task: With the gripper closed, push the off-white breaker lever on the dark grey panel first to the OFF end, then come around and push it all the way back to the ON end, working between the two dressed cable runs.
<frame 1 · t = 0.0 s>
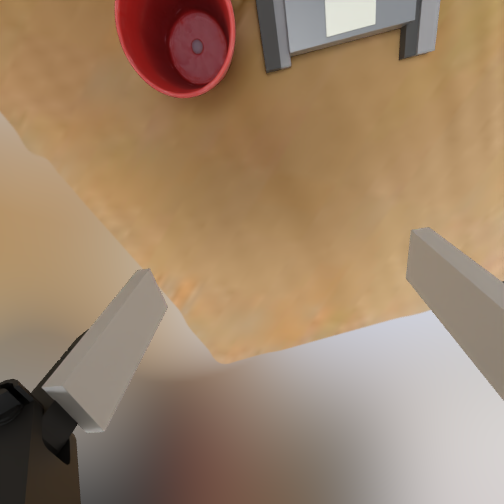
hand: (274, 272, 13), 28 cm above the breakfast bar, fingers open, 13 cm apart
flower pot: (200, 50, 31), on the breakfast bar
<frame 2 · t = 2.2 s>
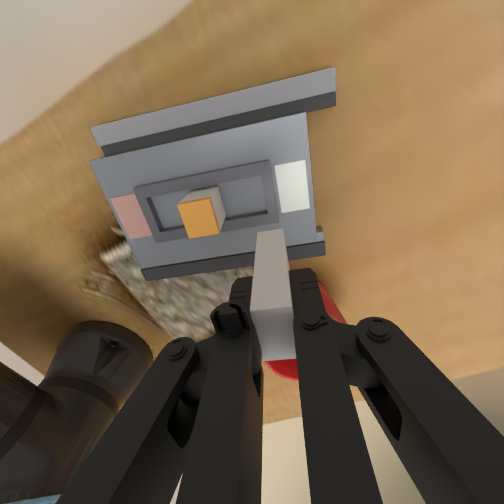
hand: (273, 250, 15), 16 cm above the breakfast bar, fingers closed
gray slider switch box: (231, 255, 34), on the breakfast bar
breaker panel: (214, 194, 30), on the breakfast bar
lever: (204, 210, 25), point 5 cm above the breakfast bar, slide at 0.0 cm
gray slab: (210, 110, 26), on the breakfast bar
flower pot: (298, 296, 37), on the breakfast bar
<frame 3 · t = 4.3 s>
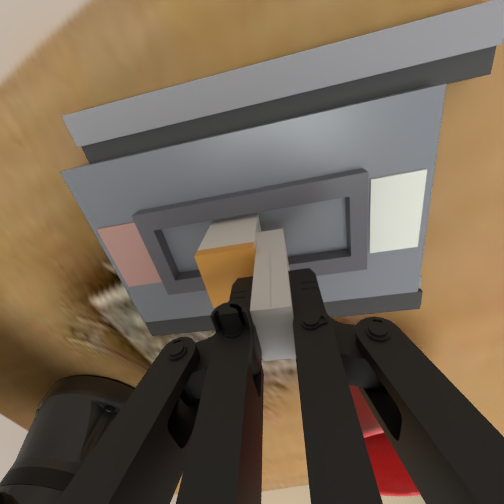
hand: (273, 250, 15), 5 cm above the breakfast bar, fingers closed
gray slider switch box: (273, 302, 24), on the breakfast bar
breaker panel: (255, 219, 20), on the breakfast bar
lever: (236, 257, 15), point 5 cm above the breakfast bar, slide at -0.9 cm, touching gripper
gray slab: (260, 86, 15), on the breakfast bar
flower pot: (361, 353, 27), on the breakfast bar
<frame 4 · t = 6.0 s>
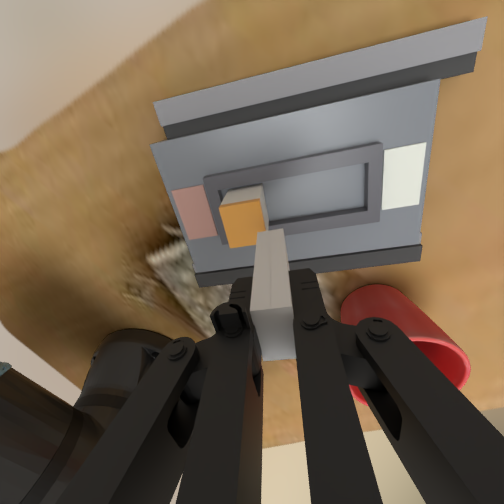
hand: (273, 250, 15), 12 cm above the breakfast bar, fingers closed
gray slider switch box: (299, 259, 29), on the breakfast bar
breaker panel: (290, 187, 25), on the breakfast bar
lever: (246, 214, 21), point 6 cm above the breakfast bar, slide at -3.8 cm
gray slab: (301, 80, 21), on the breakfast bar
flower pot: (370, 306, 32), on the breakfast bar
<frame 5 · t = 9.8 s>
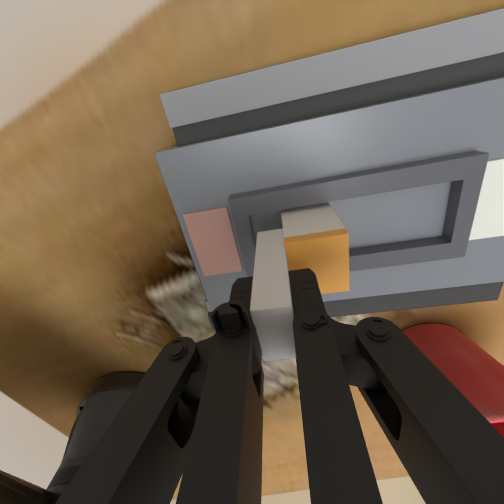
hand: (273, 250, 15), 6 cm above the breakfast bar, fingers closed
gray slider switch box: (338, 294, 23), on the breakfast bar
breaker panel: (335, 207, 19), on the breakfast bar
lever: (311, 246, 15), point 6 cm above the breakfast bar, slide at -2.6 cm, touching gripper
gray slab: (364, 66, 15), on the breakfast bar
flower pot: (419, 347, 26), on the breakfast bar
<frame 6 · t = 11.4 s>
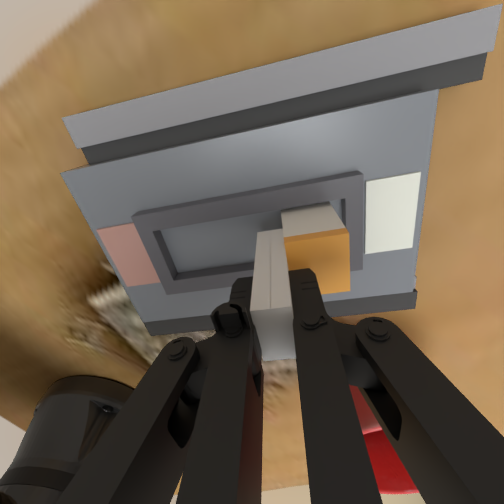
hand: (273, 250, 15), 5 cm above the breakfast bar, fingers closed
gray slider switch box: (270, 302, 24), on the breakfast bar
breaker panel: (253, 220, 20), on the breakfast bar
lever: (312, 246, 15), point 6 cm above the breakfast bar, slide at 3.8 cm, touching gripper
gray slab: (257, 89, 16), on the breakfast bar
flower pot: (357, 353, 27), on the breakfast bar
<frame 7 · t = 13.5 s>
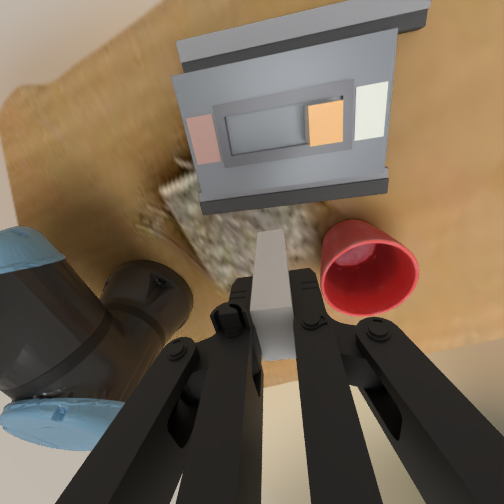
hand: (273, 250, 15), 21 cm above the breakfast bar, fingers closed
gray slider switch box: (288, 194, 34), on the breakfast bar
breaker panel: (282, 125, 30), on the breakfast bar
lever: (322, 122, 25), point 5 cm above the breakfast bar, slide at 3.8 cm
gray slab: (294, 30, 26), on the breakfast bar
flower pot: (348, 242, 38), on the breakfast bar
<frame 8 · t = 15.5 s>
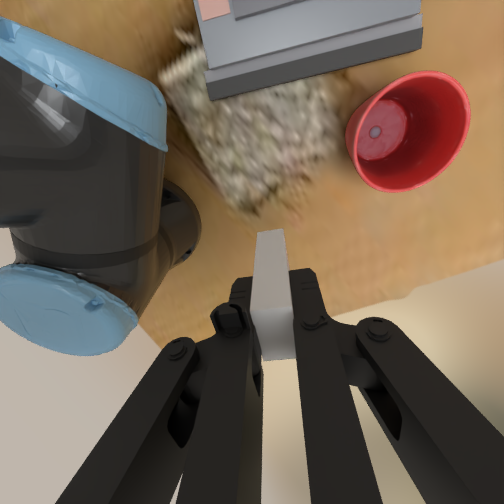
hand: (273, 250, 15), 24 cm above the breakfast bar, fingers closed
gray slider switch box: (306, 68, 30), on the breakfast bar
flower pot: (373, 130, 33), on the breakfast bar
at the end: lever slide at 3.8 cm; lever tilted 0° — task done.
